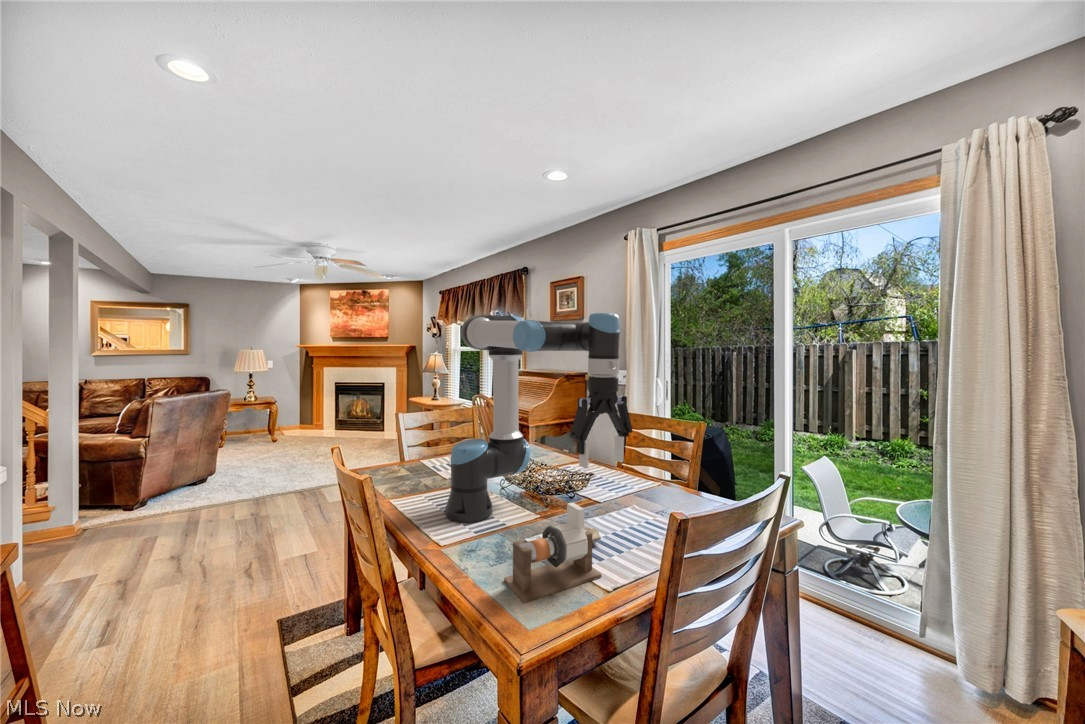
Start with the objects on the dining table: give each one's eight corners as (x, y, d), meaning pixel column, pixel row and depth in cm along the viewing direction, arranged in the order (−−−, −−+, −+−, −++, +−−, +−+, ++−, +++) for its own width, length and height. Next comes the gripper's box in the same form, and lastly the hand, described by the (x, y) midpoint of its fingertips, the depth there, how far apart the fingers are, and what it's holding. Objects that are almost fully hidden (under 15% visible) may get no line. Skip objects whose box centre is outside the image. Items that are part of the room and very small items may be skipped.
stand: (577, 559, 114) (578, 521, 114) (601, 577, 105) (602, 536, 105) (504, 580, 103) (504, 539, 103) (524, 602, 95) (524, 557, 94)
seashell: (549, 542, 124) (550, 532, 124) (575, 529, 133) (575, 519, 132) (583, 556, 116) (583, 545, 116) (608, 541, 125) (608, 531, 125)
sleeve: (568, 548, 111) (569, 500, 111) (587, 562, 104) (588, 511, 104) (548, 554, 108) (548, 504, 108) (566, 569, 101) (567, 516, 101)
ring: (545, 555, 108) (546, 521, 108) (565, 571, 101) (565, 534, 100) (541, 556, 108) (541, 522, 107) (560, 573, 100) (560, 536, 100)
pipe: (579, 542, 111) (579, 525, 110) (589, 550, 107) (590, 532, 107) (515, 560, 101) (515, 541, 101) (524, 568, 98) (524, 549, 97)
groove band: (539, 553, 105) (540, 534, 105) (550, 562, 101) (550, 542, 101) (526, 557, 103) (526, 537, 103) (536, 566, 99) (536, 546, 99)
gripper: (573, 378, 100) (572, 474, 101) (648, 375, 112) (646, 461, 113) (556, 376, 107) (554, 466, 108) (628, 373, 118) (626, 454, 119)
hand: (601, 463), depth 110 cm, fingers open, 10 cm apart
